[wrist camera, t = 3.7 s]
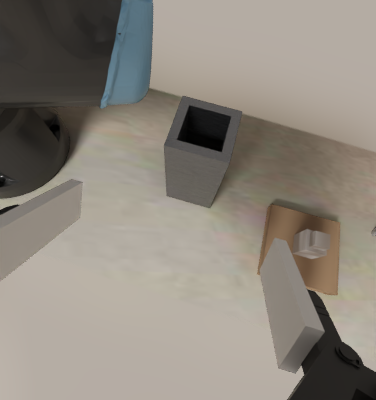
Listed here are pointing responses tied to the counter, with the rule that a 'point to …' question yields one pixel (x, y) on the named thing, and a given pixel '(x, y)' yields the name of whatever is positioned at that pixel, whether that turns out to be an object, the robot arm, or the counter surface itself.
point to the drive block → (306, 245)
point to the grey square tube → (199, 150)
